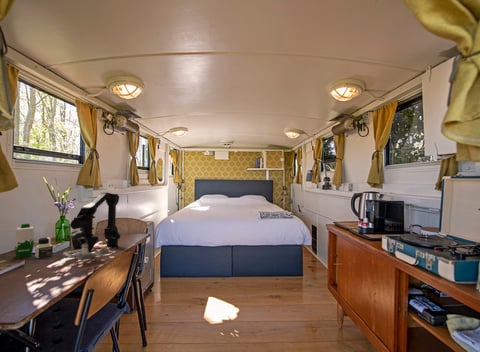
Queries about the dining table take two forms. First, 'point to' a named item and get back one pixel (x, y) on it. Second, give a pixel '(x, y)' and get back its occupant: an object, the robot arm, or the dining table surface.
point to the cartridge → (85, 250)
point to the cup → (76, 243)
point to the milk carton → (24, 241)
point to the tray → (72, 252)
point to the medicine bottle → (44, 248)
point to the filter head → (94, 254)
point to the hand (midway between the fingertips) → (86, 250)
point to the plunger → (104, 248)
